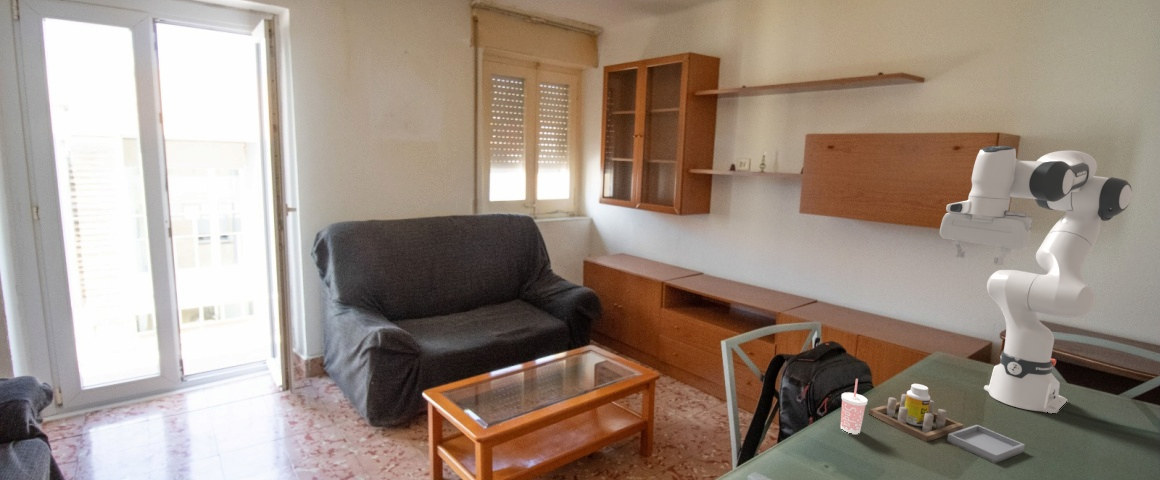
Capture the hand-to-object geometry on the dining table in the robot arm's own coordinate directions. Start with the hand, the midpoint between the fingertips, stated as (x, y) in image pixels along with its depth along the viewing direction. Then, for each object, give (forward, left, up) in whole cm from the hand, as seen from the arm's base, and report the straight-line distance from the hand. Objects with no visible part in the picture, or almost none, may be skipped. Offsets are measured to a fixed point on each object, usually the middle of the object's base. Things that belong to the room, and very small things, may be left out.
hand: (978, 261), depth 148 cm
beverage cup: (+33, -7, -45) cm, 56 cm away
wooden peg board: (+12, -3, -45) cm, 46 cm away
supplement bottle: (+12, -3, -45) cm, 46 cm away
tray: (+8, +12, -45) cm, 47 cm away
